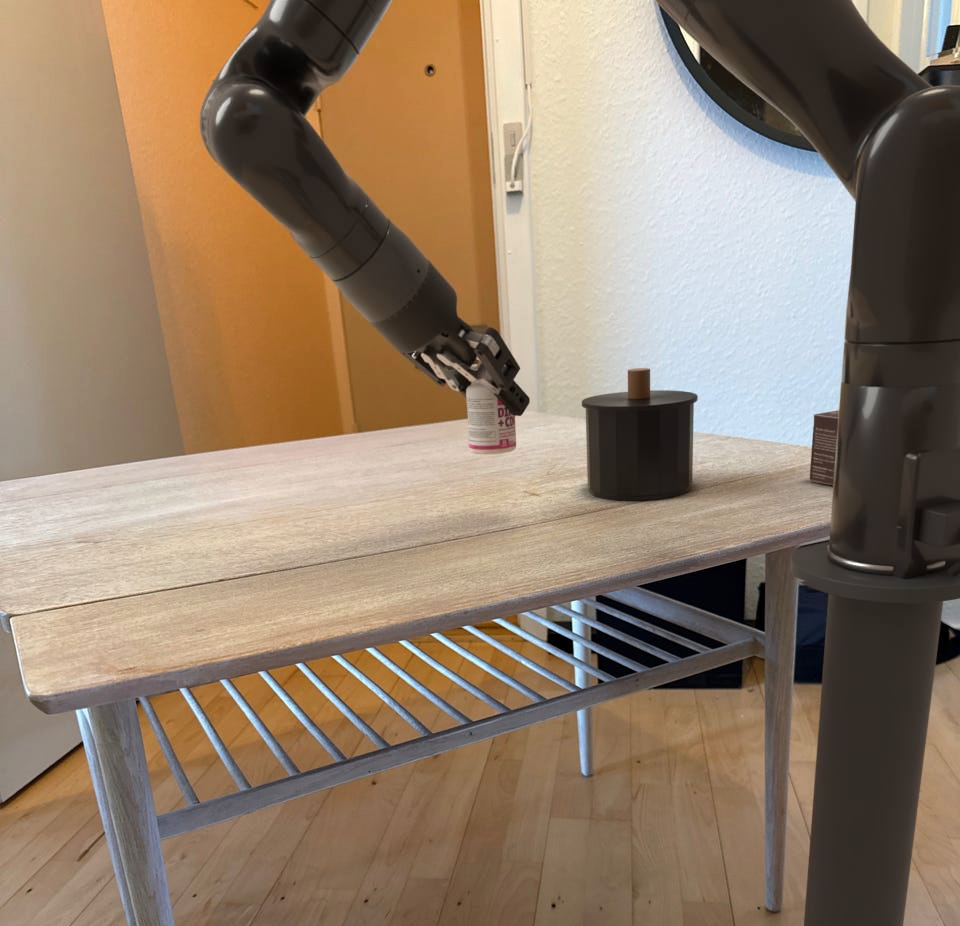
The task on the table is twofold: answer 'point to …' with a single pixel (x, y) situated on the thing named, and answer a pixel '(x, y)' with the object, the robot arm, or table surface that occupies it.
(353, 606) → the table surface
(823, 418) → the box
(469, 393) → the pill bottle
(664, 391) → the pot lid
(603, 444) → the pot
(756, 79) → the robot arm
